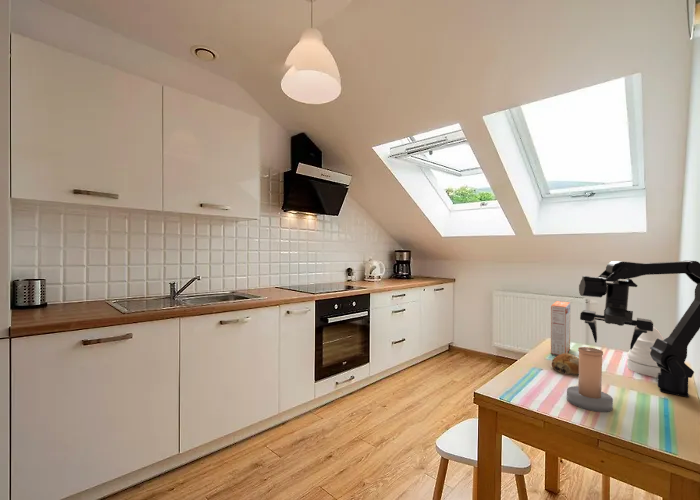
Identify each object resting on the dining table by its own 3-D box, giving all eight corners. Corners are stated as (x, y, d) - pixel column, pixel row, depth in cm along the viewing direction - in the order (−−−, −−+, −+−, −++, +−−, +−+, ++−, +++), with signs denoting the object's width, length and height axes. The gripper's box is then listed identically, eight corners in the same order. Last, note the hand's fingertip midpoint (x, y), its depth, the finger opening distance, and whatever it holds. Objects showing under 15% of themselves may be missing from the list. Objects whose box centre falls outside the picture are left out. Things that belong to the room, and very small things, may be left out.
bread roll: (585, 386, 120) (595, 365, 120) (559, 373, 120) (569, 353, 120) (567, 375, 130) (577, 356, 130) (543, 363, 130) (553, 344, 130)
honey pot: (623, 370, 126) (624, 321, 126) (630, 362, 134) (631, 317, 134) (671, 380, 116) (672, 328, 116) (675, 371, 125) (676, 323, 124)
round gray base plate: (613, 401, 100) (613, 393, 100) (611, 416, 92) (612, 406, 91) (569, 391, 107) (569, 383, 107) (564, 403, 99) (564, 395, 98)
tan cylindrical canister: (598, 391, 101) (599, 348, 101) (605, 400, 95) (606, 354, 95) (575, 388, 103) (576, 346, 103) (580, 396, 98) (581, 351, 97)
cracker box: (554, 346, 155) (555, 300, 155) (570, 348, 151) (571, 302, 151) (549, 353, 144) (550, 304, 144) (566, 356, 140) (567, 306, 140)
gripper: (579, 297, 112) (576, 343, 112) (656, 306, 100) (651, 359, 100) (583, 294, 120) (580, 337, 121) (654, 302, 108) (650, 350, 109)
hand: (612, 345), depth 112 cm, fingers open, 9 cm apart
